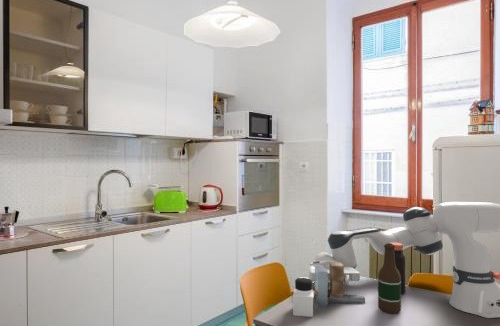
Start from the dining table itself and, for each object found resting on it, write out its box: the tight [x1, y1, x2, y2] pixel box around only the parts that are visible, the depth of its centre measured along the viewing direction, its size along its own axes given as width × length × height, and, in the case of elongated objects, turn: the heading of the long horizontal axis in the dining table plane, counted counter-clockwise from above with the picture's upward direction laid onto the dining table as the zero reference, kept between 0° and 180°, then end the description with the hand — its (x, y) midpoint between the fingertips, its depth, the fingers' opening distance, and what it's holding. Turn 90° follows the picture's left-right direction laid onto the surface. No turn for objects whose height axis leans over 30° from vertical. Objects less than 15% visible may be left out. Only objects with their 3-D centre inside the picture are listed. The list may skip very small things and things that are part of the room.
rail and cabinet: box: [314, 266, 366, 308], centre depth 129 cm, size 18×7×13 cm, turn 89°
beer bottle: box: [377, 243, 402, 315], centre depth 123 cm, size 8×8×24 cm
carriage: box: [327, 263, 345, 298], centre depth 131 cm, size 8×4×12 cm, turn 89°
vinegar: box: [390, 243, 406, 296], centre depth 140 cm, size 7×7×20 cm
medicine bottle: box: [292, 276, 315, 318], centre depth 121 cm, size 7×7×12 cm
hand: (338, 281), depth 130 cm, fingers open, 6 cm apart
